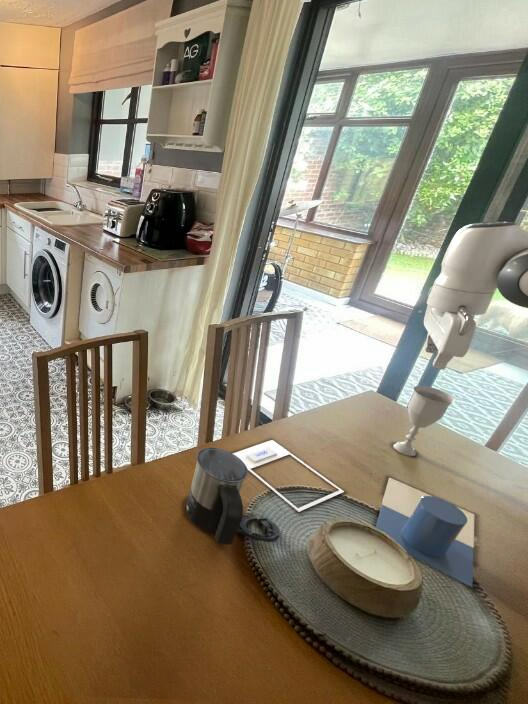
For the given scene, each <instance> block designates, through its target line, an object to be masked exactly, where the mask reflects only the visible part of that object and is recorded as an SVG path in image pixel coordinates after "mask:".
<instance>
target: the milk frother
mask: <svg viewBox="0 0 528 704" xmlns="http://www.w3.org/2000/svg"><path fill="white" fill-rule="evenodd" d="M248 475H249V470H248V469H247V467H246V465H245V464H244V462H243V461H242V460H241V459H239V458H238V457H237V456H235V455H234V454H233V452H230V451H227V450H226V449H221V448H217V447H207V448H203V449H201V450H199V451H198V453H197V454H196V465H195V468H194V473H193V476H192V477H193V478H192V482H191V486H190V490H189V494H188V498H187V501H186V504H185V511H186V514H187V516H188V518H189V519H190V520H191V522H193V523H194V525H196V526H197V527H199V528H200V529H202V530H205V531H207V532H210V533H215V536H214V540H215V541H216V543H217V544H218V545H219V544H220V545H226V546H229V545H232V544H233V541H234V540H235V538H236V535H237V534H239V535H242V536H244V537H246V538H249V539H251V540H255V541H257V542H258V541H259V542H263V543H264V542H265V543H273V542H275V541H277V540H279V538H280V536H281V530H280V528H279V526H278V525H277V524H275V523H274V522H273V521H271V520H270V519H268V518H267V517H263V516H262V517H261V516H260V515H250V516H249V515H248V516H245V517H244V505H243V503H244V502H243V499H242V496H241V491H242V487H243V484H244V482H245V480H246V479H247V478H248ZM253 521H256V522H257V523H256V526H257V527H259V528H260V529H261V531H262V532H263V533H264V534H259V533H256V532H253V531H252V530H250V529H249V528H248V527H247V525H248V524H249V523H250V522H253Z"/></svg>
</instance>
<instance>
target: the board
mask: <svg viewBox="0 0 528 704" xmlns="http://www.w3.org/2000/svg"><path fill="white" fill-rule="evenodd" d="M424 496H432V495H430V494H428V493H426V492H424V491H422V490H420V489H417V488H414V487H412V486H410V485H408V484H405V483H403V482H401V481H398V480H397V479H394V478H392V477H388V481H387V484H386V487H385V490H384V495H383V499H382V502H381V507H380V510H379V515H378V518H377V522H376V526H375V529H376V528H377V529H379V530H381V531H383V532H385V533H386V534H388V535H389V536H390V537H392V538H393V539H394V540H395V541H396V542H397V543H399V544H400V545H401V546H402V547H403V549H405V550H406V551H407V553H408V554H407V553H406V554H407V555H408V556H411V557H413V558H415V559H416V560H419V561H421V562H422V563H424V564H427V565H428V566H430V567H432V568H434V569H435V570H438V571H440V572H442V573H443V574H445V575H448V576H449V577H451V578H453V579H455V580H457V581H459V582H461V583H463V584H465V585H467V586H469V587H471V588H473V580H474V579H473V578H474V548H475V516H476V515H475V514H474V513H472V512H470V511H467V510H465V509H463V508H460V507H458V506H456V507H457V508H459V509H460V510H461V511H462V512H463V513H464V514H465V515H466V517H467V523H466V524H465V526H464V527H463V529H462V530H461V532H460V533H459V535H458V536H457V537H456V539H455V540H454V542H453V543H452V545H451V546H450V548H449V549H448V551H447V552H446V554H445V555H444V556H442V557H432V556H429V555H426V554H424V553H421V552H420V551H418V550H416V549H415V548H413V547H412V546H411V545H409V544H408V543H407V542H406V541H405V539H404V538H403V536H402V529H403V528H404V526H405V524H406V523H407V521H408V519H409V518H410V516H411V514H412V512H413V511H414V509H415V507H416V506H417V504H418V502H419V501H420V499H421V498H422V497H424Z"/></svg>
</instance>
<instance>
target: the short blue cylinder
mask: <svg viewBox="0 0 528 704" xmlns="http://www.w3.org/2000/svg"><path fill="white" fill-rule="evenodd" d="M457 507H458V506H456V505H455V504H453V503H451V502H449V501H448V500H445V499H443V498H440V497H437V496H433V495H431V496H424V497H422V498H421V499H420V501H419V502H418V504H417V506H416V507H415V509H414V511H413V512H412V514H411V516H410V518H409V519H408V521H407V523H406V524H405V526H404V528H403V529H402V536H403V538H404V539H405V541H406V542H407V543H408V544H409V545H411V546H412V547H413V548H415V549H416V550H418V551H420V552H421V553H424V554H426V555H429V556H432V557H442V556H444V555H445V554H446V552H447V551H448V549H449V548H450V546H451V545H452V543H453V542H454V540H456V537H457V536H458V535H459V533H460V532H461V530H462V529H463V527H464V526H465V524H466V523H467V517H466V515H465V514H464V513H463V512H462V511H461V510H460V509H459V508H460V507H458V508H457Z"/></svg>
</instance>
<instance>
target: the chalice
mask: <svg viewBox="0 0 528 704" xmlns="http://www.w3.org/2000/svg"><path fill="white" fill-rule="evenodd" d="M413 392H414V393H413V395H412V396H411V399H410V401H409V403H408V405H407V413H408V417H409V422H410V424H412V425H413V427H412V428H411V429H409V434H407V435H405V437H406V440H405V441H397V442H396V443H394V444H393V449H395V450H396V451H397V452H398V453H400V454H402V455H406V456H409V457H413V456H416V454H417V453H416V449H415V447H414V446H413V445H412V442H413V441H415V440H416V435H419V429H420V428H421V429H423V428H424V429H425V428H427V427H429V426H431V425H433V424H435V423H436V422H438V421H439V420H441V419H442V418H443V417H444V415H445V413H446V412H447V410H448V408H449V406H450V405H452V404H454V403H455V402H456V398H455V397H454V396H453V395H451V394H449V393H448V392H447V391H444V390H441V389H439V388H435V387H431V386H425V385H416V386H413Z"/></svg>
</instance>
